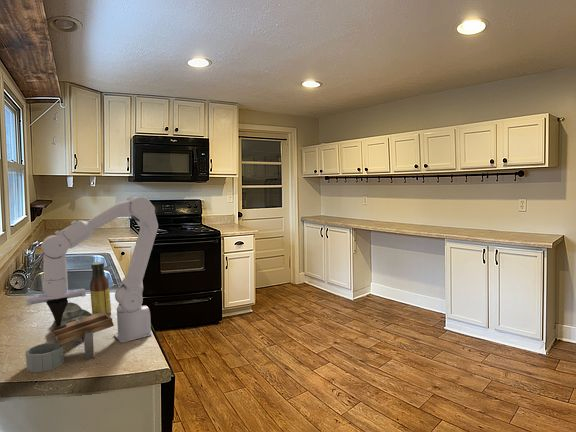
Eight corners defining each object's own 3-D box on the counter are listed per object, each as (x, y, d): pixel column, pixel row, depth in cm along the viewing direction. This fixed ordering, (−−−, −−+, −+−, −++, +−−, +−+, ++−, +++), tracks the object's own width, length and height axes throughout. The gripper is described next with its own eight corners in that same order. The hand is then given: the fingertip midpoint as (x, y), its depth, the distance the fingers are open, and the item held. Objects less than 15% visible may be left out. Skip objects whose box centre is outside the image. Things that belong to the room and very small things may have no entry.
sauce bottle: (106, 312, 147) (103, 260, 145) (114, 316, 143) (112, 262, 142) (88, 317, 142) (85, 263, 140) (96, 321, 138) (93, 265, 136)
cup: (59, 355, 112) (58, 339, 111) (65, 365, 105) (64, 349, 105) (25, 364, 106) (24, 347, 106) (29, 375, 100) (28, 358, 100)
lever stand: (80, 341, 121) (79, 317, 120) (94, 359, 109) (92, 332, 108) (73, 343, 120) (71, 318, 119) (86, 361, 108) (84, 334, 107)
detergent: (101, 335, 126) (91, 311, 147) (98, 313, 125) (88, 293, 146) (54, 348, 119) (50, 321, 140) (50, 325, 118) (47, 302, 139)
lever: (101, 315, 123) (100, 308, 123) (114, 326, 113) (112, 319, 113) (50, 331, 114) (49, 324, 114) (59, 345, 105) (57, 337, 104)
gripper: (80, 272, 120) (82, 315, 121) (23, 279, 110) (26, 326, 111) (86, 276, 114) (88, 322, 115) (26, 284, 105) (29, 334, 106)
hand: (58, 325), depth 113 cm, fingers closed, pressing on lever
